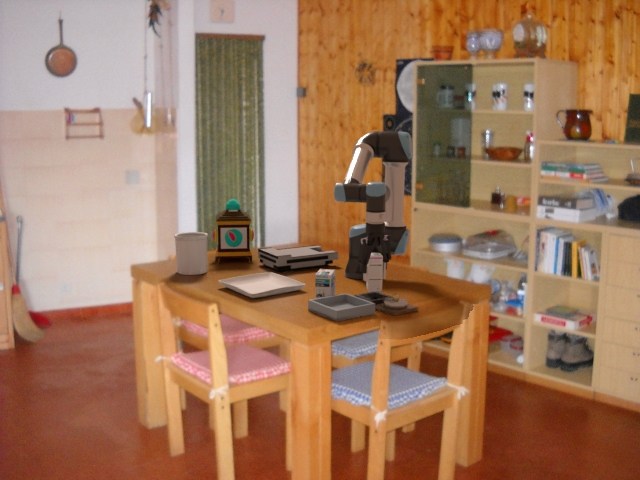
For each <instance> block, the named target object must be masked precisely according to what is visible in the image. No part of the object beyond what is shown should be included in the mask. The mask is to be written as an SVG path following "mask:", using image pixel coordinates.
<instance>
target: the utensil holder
mask: <svg viewBox="0 0 640 480" xmlns="http://www.w3.org/2000/svg"><path fill="white" fill-rule="evenodd" d="M208 236H209V234H208V233H207V232H201V231H186V232H185V231H184V232H177V233H175V234H174V239H175V258H176V259H175V262H176V273H177V274H180V275H183V276H184V275H185V276H197V275H202V274H206V273H207V272H208Z"/></svg>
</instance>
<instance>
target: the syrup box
mask: <svg viewBox="0 0 640 480" xmlns="http://www.w3.org/2000/svg"><path fill="white" fill-rule="evenodd" d="M368 265H369V282H366V281H365V283H366V285H365V287H366V288H365V289H366V290H367V293H368V292H380V293H383V278H382V276H383V256H382V255H381V253H371V256H370V259H369V262H368Z"/></svg>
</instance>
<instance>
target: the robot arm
mask: <svg viewBox="0 0 640 480" xmlns="http://www.w3.org/2000/svg"><path fill="white" fill-rule="evenodd" d="M413 152H414V151H413V141H412V135H410V133H409V132H406V131H390V130H389V131H387V130H386V131H381V130H380V131H379V130H374V131H370V132H368V133H365V134H364V135H363V136H361V137H360V138H359V139H358V140H357V141H356V142H355V144H354V145H353V148H352V150H351V153H352V157H351V160H350V162H349V165H348V168H347V169H346V173H345V176H344V179H343V182H337V183H335V185H334V191H333V195H334V196H333V197H334V200H335V201H336V202H341V203H342V202H343V203H362V204H365V205H366V206H365V223H361V224H356V225H354V226H353V225H352V226H351V227H350V228H349V235H348V260H347V264H346V267H345V269H344V276H345V277H346V278H349V279H353V280H362V281H364V282H365V283H366V282H369V265H368V262H369V259H370V256H371V253H381V255H382V256H383V276H382V280H383V279H384V280H385V279H386V276H387V275H386V274H387V273H386V272H387V271H386V270H387V269H388V263H389V262H390V261H391V260H392V255H393V256H403V255H405V253H407V251H408V250H407V249H408V246H409V242H410V233H411V231H410V229H409V228H407V224H406V223H405V221H404V208H405V207H404V206H405V175H406V166H407V165H408V164H409V162H410V160H411V159H413V156H414V155H413V154H414V153H413ZM375 158H376V159H378V158H379V159H381V162H382V164H383V165H384V167H385V168H384V169H385V173H384V182H382V181H370V182H367V183H363V181H364V179H365V176H366V173H367V170H368V167H369V164H370V162H371V161H372V160H373V159H375Z"/></svg>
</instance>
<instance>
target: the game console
mask: <svg viewBox="0 0 640 480" xmlns="http://www.w3.org/2000/svg"><path fill="white" fill-rule="evenodd" d="M322 249H323V248H322V246H320V245H318V244H313V245H306V246H305V245H304V246H303V245H302V246H295V247H294V246H293V247H287V248H285V247H284V248H277V249H276V248H274V247H263V248H257V257H258V259H259V263H260V264H263V266H265V267H268V268H272V269H275V271H277V272H279V273H281V274H283V273H290V272H291V273H292V272H300V271H306V270H307V271H308V270H316V269H317V270H318V269H325V268H329V265H332V264H333V263H334V262H333V261H335V260H336V261H337V260H339V252H337V251H335V250H326V251H325V250H322Z"/></svg>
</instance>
